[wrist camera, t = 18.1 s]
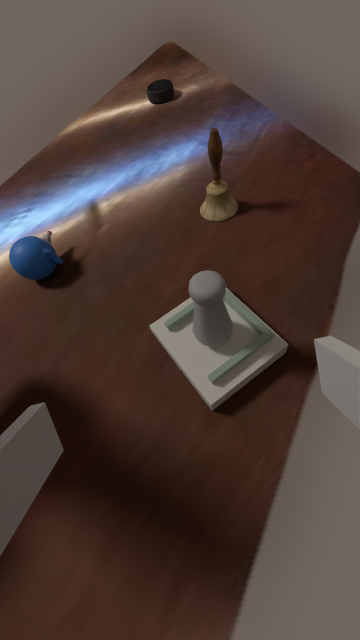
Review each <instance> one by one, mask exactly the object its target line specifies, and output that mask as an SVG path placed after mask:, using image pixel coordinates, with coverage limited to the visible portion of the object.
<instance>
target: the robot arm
mask: <svg viewBox="0 0 360 640" xmlns="http://www.w3.org/2000/svg"><path fill="white" fill-rule="evenodd" d="M314 343H315V350H316V356H317V363H318V370H319V376H320V383H321V389H322V393H323V394H324V395H325V396H326V397H327V398H328V399H329V400H330V401H331V402H332V403H333V404H334V405H335V406H336V407H337V408H338V409H339V410H340V411H341V412H342V413H343V414H344V415H346V417H347V418H348V419H350V420H351V421H352V422H353V423H354V424H355V425H356V426H357V427H358V428H359V429H360V351H359V350H357V349H355V348H353V347H351V346H349V345H347V344H345V343H344V342H342V341H340V340H338V339H336V338H334V337H332V336H327V337H323V338H318V339H314ZM63 451H64V450H63V447H62V444H61V442H60V439H59V437H58V434H57V432H56V429H55V427H54V424H53V422H52V419H51V417H50V414H49V412H48V409H47V407H46V404H45V402H44V403H40V404H36V405H31V406H29V407H28V408H27V409H26V410H25V411H24V412H23V413H22V414H21V415H20V416H19V417H18V418H17V419H16V420H15V421H14V422H13V423H12V424H11V425H10V426H9V427H8V428H7V429H6V430H5V431H4V432H3V433H2V434H1V435H0V556H1V554H2V553H3V551H4V549H5V548H6V546H7V544H8V543H9V541H10V539H11V538H12V536H13V534H14V533H15V531H16V529H17V528H18V526H19V524H20V523H21V521H22V519H23V518H24V516H25V514H26V513H27V511H28V509H29V507H30V506H31V504H32V502H33V501H34V499H35V497H36V496H37V494H38V492H39V491H40V489H41V487H42V486H43V484H44V482H45V481H46V479H47V477H48V476H49V474H50V472H51V471H52V469H53V467H54V466H55V464H56V462H57V461H58V459H59V457H60V456H61V454H62V452H63Z"/></svg>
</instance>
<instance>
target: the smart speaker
mask: <svg viewBox="0 0 360 640" xmlns="http://www.w3.org/2000/svg"><path fill="white" fill-rule="evenodd" d="M147 95H148V99H149V101H150V102H151V103H154V104H160V103H164V102H167V101H169V100H170V99H171V98H172V97H173V95H174V89H173V84H172V82H171V81H170V80H166V79H163V80H158V81H155V82H153V83H151V84H150V85H149V86H148V87H147Z"/></svg>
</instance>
